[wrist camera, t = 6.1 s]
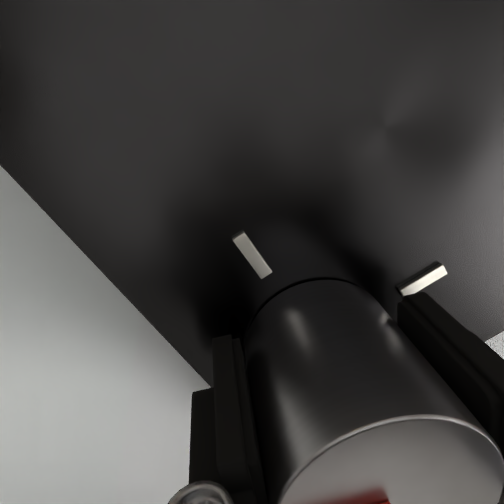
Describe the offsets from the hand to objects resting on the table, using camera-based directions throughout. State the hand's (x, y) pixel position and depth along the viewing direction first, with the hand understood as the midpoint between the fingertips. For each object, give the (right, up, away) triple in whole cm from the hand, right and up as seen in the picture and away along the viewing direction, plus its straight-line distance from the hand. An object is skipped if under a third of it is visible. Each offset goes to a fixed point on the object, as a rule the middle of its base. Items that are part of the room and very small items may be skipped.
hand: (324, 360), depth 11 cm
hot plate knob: (0, 0, +1) cm, 1 cm away
